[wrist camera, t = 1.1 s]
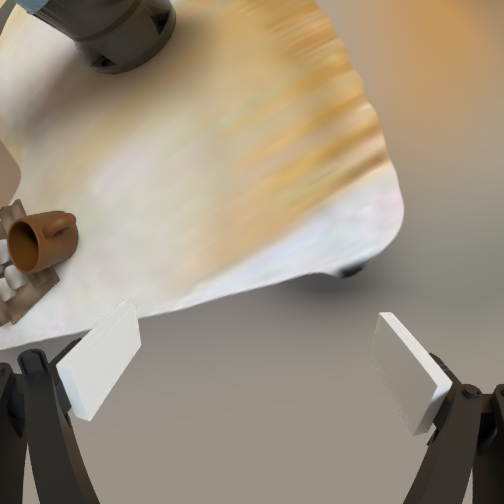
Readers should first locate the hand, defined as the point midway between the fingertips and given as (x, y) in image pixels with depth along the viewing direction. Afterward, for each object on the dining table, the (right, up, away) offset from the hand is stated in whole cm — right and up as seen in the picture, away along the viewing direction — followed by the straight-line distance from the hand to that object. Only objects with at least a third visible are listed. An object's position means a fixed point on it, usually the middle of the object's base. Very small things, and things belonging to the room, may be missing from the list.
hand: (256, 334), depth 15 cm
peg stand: (-43, +2, +24) cm, 50 cm away
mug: (-27, +8, +23) cm, 36 cm away
